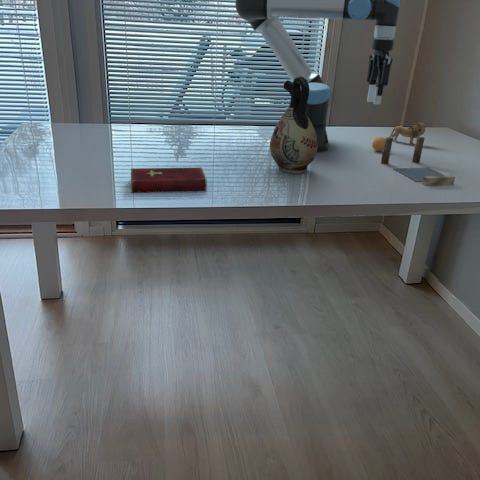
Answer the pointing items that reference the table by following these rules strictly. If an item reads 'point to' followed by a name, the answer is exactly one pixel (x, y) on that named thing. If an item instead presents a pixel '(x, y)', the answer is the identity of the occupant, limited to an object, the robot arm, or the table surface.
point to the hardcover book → (167, 180)
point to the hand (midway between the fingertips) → (373, 102)
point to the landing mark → (418, 173)
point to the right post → (418, 149)
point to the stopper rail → (438, 180)
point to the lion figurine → (409, 132)
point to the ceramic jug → (294, 132)
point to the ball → (378, 143)
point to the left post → (386, 150)
